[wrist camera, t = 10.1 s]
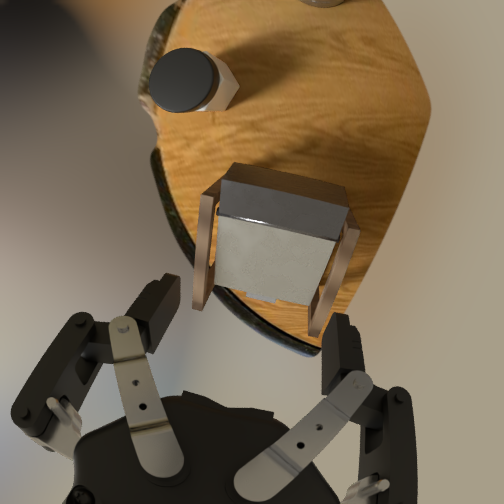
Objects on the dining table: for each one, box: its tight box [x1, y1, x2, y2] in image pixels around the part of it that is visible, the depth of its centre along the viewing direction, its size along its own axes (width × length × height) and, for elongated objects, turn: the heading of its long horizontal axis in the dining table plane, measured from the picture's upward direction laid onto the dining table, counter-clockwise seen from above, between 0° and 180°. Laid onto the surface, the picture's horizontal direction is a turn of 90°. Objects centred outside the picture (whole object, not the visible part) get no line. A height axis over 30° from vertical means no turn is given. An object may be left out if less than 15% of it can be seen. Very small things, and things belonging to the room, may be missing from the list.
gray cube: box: [246, 292, 276, 303], centre depth 48 cm, size 5×5×5 cm
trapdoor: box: [214, 162, 349, 306], centre depth 34 cm, size 18×15×5 cm
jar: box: [149, 48, 240, 113], centre depth 31 cm, size 9×8×12 cm
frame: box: [192, 176, 361, 338], centre depth 40 cm, size 17×18×13 cm
